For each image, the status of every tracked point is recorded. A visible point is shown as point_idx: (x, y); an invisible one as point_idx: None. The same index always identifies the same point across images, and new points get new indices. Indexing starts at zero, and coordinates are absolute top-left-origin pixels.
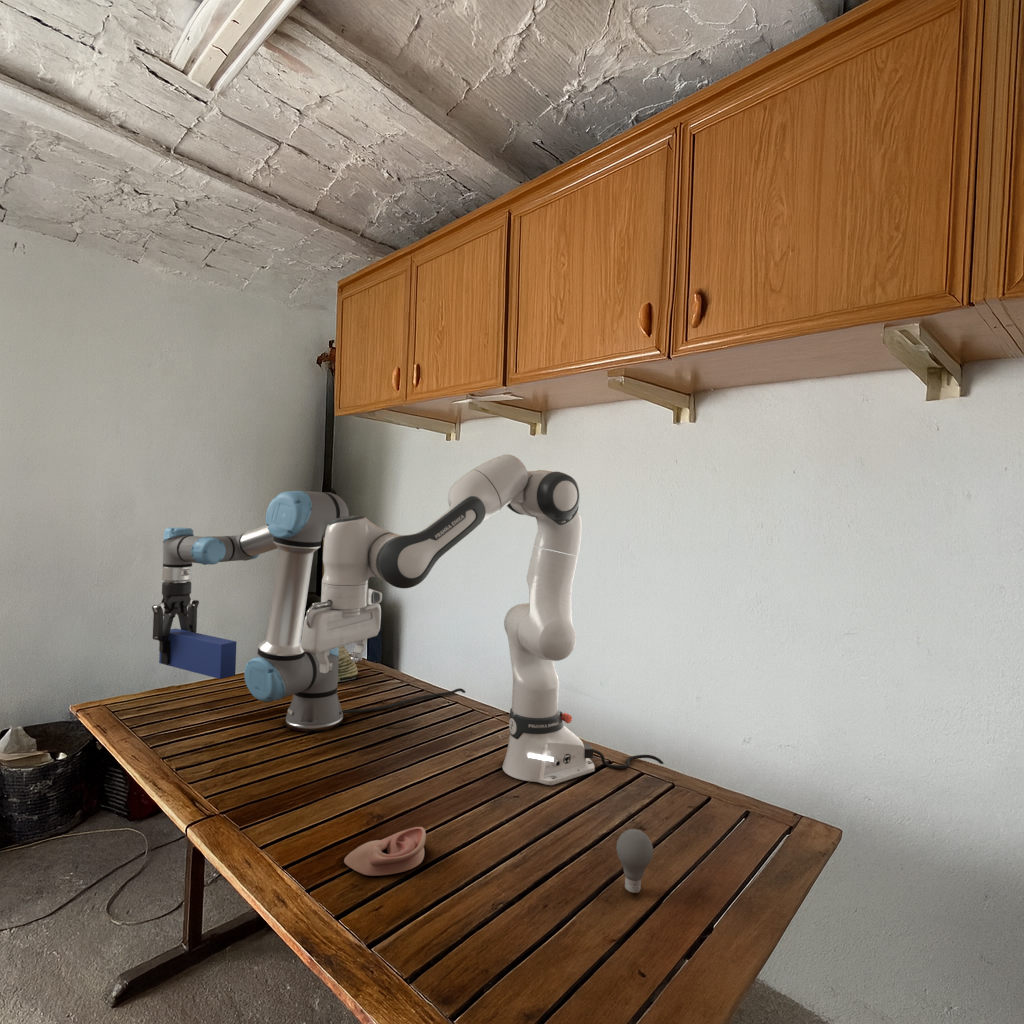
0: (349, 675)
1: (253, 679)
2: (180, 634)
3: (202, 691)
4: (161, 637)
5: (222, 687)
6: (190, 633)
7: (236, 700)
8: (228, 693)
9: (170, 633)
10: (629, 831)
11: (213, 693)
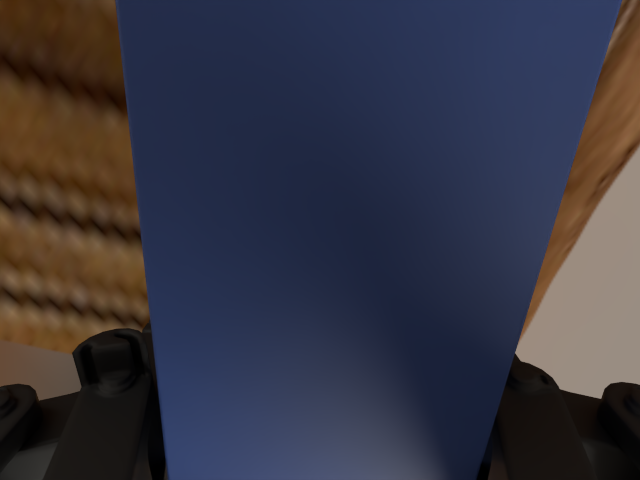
0: None
1: None
2: (488, 237)
3: (116, 262)
4: (635, 417)
5: (28, 241)
6: (280, 141)
7: (79, 28)
8: (51, 152)
9: (482, 451)
10: None
11: (99, 206)
